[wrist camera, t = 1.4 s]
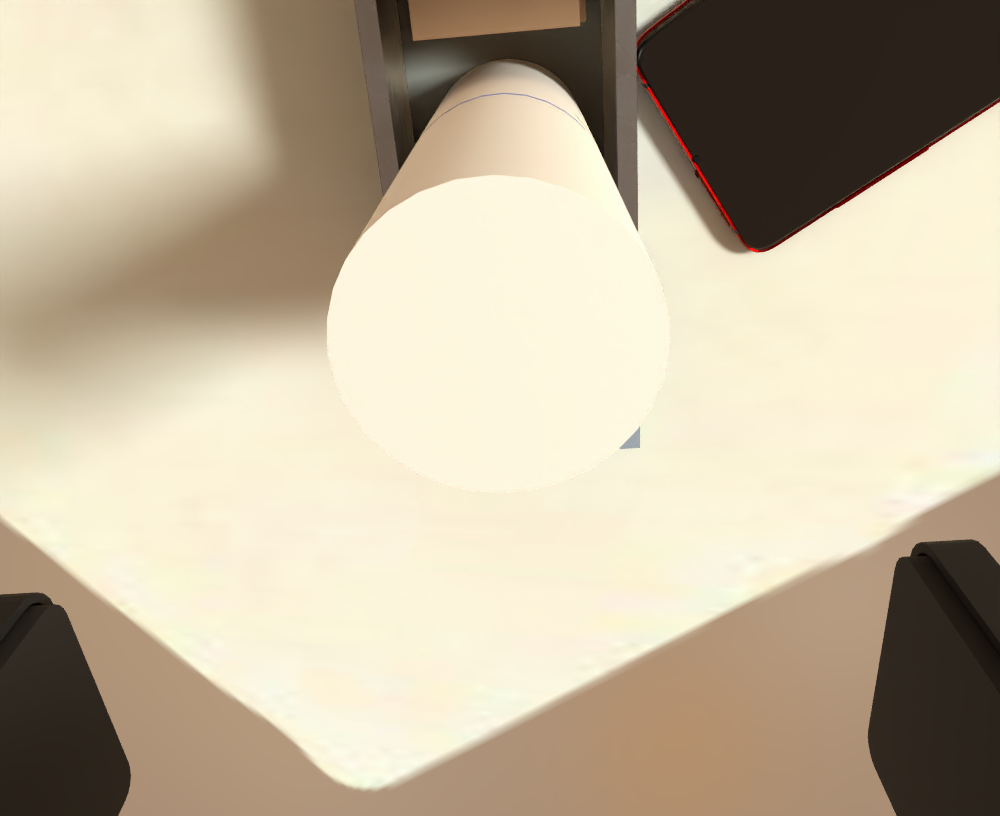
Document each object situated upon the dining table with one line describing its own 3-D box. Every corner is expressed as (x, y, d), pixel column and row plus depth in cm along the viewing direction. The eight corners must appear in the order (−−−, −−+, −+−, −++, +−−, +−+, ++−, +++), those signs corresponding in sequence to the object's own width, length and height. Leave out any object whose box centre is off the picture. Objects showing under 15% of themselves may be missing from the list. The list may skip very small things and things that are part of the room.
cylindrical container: (484, 26, 37) (434, 98, 15) (614, 115, 39) (742, 299, 17) (406, 163, 40) (269, 395, 18) (531, 241, 42) (546, 542, 20)
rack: (354, -179, 34) (279, -251, 23) (615, -207, 33) (662, -294, 23) (412, 250, 42) (376, 343, 31) (622, 234, 42) (659, 323, 31)
